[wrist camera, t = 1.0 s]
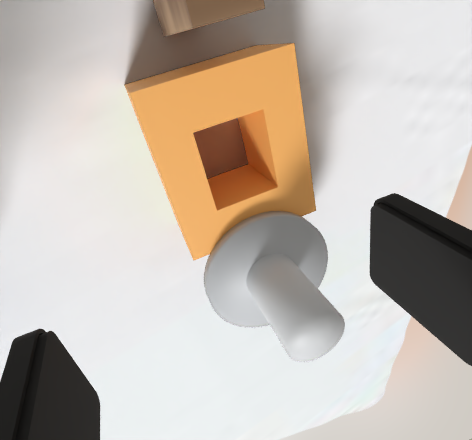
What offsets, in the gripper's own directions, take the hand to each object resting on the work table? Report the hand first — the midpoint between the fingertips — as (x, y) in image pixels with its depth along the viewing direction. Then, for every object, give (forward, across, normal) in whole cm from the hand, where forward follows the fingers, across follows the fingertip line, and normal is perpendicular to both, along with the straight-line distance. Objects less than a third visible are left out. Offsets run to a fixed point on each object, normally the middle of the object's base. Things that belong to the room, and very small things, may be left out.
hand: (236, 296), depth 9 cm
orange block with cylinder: (+24, -6, +8) cm, 26 cm away
